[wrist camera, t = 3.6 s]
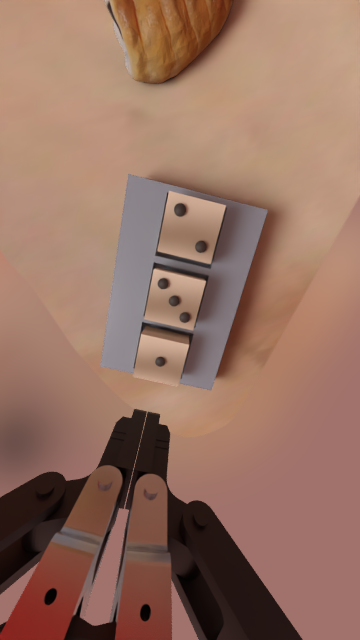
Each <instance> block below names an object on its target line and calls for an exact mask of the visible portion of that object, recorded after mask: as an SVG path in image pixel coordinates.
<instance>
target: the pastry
mask: <svg viewBox="0 0 360 640" xmlns="http://www.w3.org/2000/svg"><path fill="white" fill-rule="evenodd" d="M104 1H105V4H106V7H107V9H108V11H109V13H110V15H111V17H112V18H113V27H114V31H115V34H116V37H117V39H118V41H119V42H120V45H121V47H122V49H123V51H124V53H125V65H126V67H127V69H128V72H129V75H130V76H131V77H132V78H133V79H134V80H136V81H140V82H150V83H163V82H164V81H166V80H167V79H169V78H171V77H175V76H176V75H177V74H178V73H179V72H181V71H182V70H183V69H185V68H186V67H187V66H188V64H190V63H191V62H192V61H193V60H194V59H195V58H196V57H197V56H198V55H199V54H200V53H201V52H202V51H203V50H204V49H205V48H206V47H207V46H208V45H209V44H210V43H211V42H212V40H213V39H214V38H215V37H216V36H217V35H218V34H219V32H220V31H221V29H222V27H223V25H224V23H225V21H226V19H227V17H228V15H229V12H230V9H231V6H232V3H233V0H104Z"/></svg>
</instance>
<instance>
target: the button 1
mask: <svg viewBox="0 0 360 640" xmlns="http://www.w3.org/2000/svg"><path fill="white" fill-rule="evenodd" d="M188 348H189V335H185V334H180V333H176V332H172V331H167V330H163V329H158V328H154V327H150V326H146V327H145V328H144V330H143V332H142V333H141V337H140V342H139V348H138V353H137V358H136V363H135V368H134V373H133V377H136V378H140V379H145V380H150V381H154V382H159V383H163V384H168V385H173V386H177V387H178V386H179V382H180V378H181V374H182V371H183V367H184V363H185V359H186V355H187V352H188Z"/></svg>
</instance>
